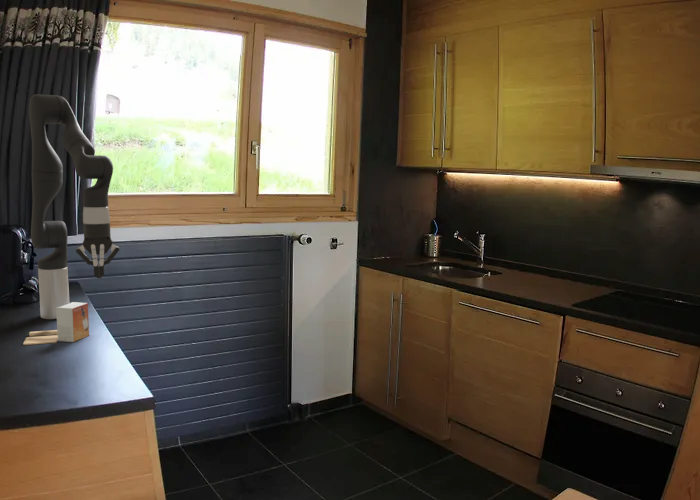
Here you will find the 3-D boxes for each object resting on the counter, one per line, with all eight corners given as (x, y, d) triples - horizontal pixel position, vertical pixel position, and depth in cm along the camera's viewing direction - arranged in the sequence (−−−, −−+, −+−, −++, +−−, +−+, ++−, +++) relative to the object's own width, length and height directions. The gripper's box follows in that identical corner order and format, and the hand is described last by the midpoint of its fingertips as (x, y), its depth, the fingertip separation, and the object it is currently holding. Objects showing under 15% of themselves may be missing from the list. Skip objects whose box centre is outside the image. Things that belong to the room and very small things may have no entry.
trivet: (26, 338, 191) (26, 337, 191) (58, 336, 194) (58, 334, 194) (23, 345, 184) (23, 343, 184) (56, 342, 187) (56, 341, 187)
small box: (73, 342, 187) (72, 308, 186) (57, 341, 189) (55, 307, 187) (90, 335, 195) (88, 302, 194) (74, 334, 196) (72, 301, 195)
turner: (28, 337, 192) (28, 334, 191) (30, 333, 196) (30, 330, 196) (78, 333, 197) (78, 330, 197) (78, 329, 201) (78, 326, 201)
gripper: (119, 220, 195) (121, 274, 198) (73, 221, 191) (76, 276, 193) (120, 222, 188) (122, 278, 191) (72, 223, 184) (75, 281, 186)
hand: (99, 277), depth 192 cm, fingers closed
